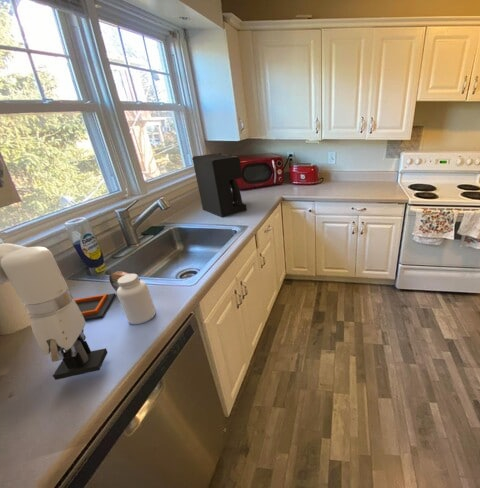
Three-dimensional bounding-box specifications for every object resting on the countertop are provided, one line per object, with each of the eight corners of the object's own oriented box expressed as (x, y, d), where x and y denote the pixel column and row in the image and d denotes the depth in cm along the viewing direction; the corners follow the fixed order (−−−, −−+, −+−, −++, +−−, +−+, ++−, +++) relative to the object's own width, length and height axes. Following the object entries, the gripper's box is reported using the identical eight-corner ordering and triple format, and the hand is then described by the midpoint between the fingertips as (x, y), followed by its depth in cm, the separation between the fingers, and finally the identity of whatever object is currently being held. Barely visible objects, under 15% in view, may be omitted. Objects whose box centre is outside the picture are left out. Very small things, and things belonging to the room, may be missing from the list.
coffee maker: (251, 211, 185) (244, 156, 170) (225, 219, 172) (215, 160, 157) (228, 203, 202) (219, 152, 187) (202, 209, 189) (191, 156, 174)
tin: (112, 291, 104) (104, 271, 101) (121, 286, 107) (113, 267, 103) (140, 300, 99) (133, 280, 95) (148, 295, 102) (141, 275, 98)
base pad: (42, 329, 86) (39, 323, 85) (63, 304, 97) (60, 299, 96) (103, 317, 91) (100, 312, 90) (116, 295, 102) (114, 290, 101)
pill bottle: (123, 326, 87) (106, 286, 80) (133, 310, 94) (119, 272, 87) (151, 323, 88) (137, 283, 82) (159, 307, 95) (146, 269, 89)
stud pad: (55, 380, 67) (42, 359, 64) (66, 360, 72) (55, 340, 69) (99, 370, 69) (89, 349, 66) (107, 352, 75) (98, 332, 72)
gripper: (48, 284, 68) (76, 340, 76) (2, 329, 54) (43, 393, 62) (84, 278, 70) (109, 334, 78) (50, 321, 56) (84, 384, 64)
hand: (80, 359), depth 70 cm, fingers closed on stud pad, 3 cm apart
